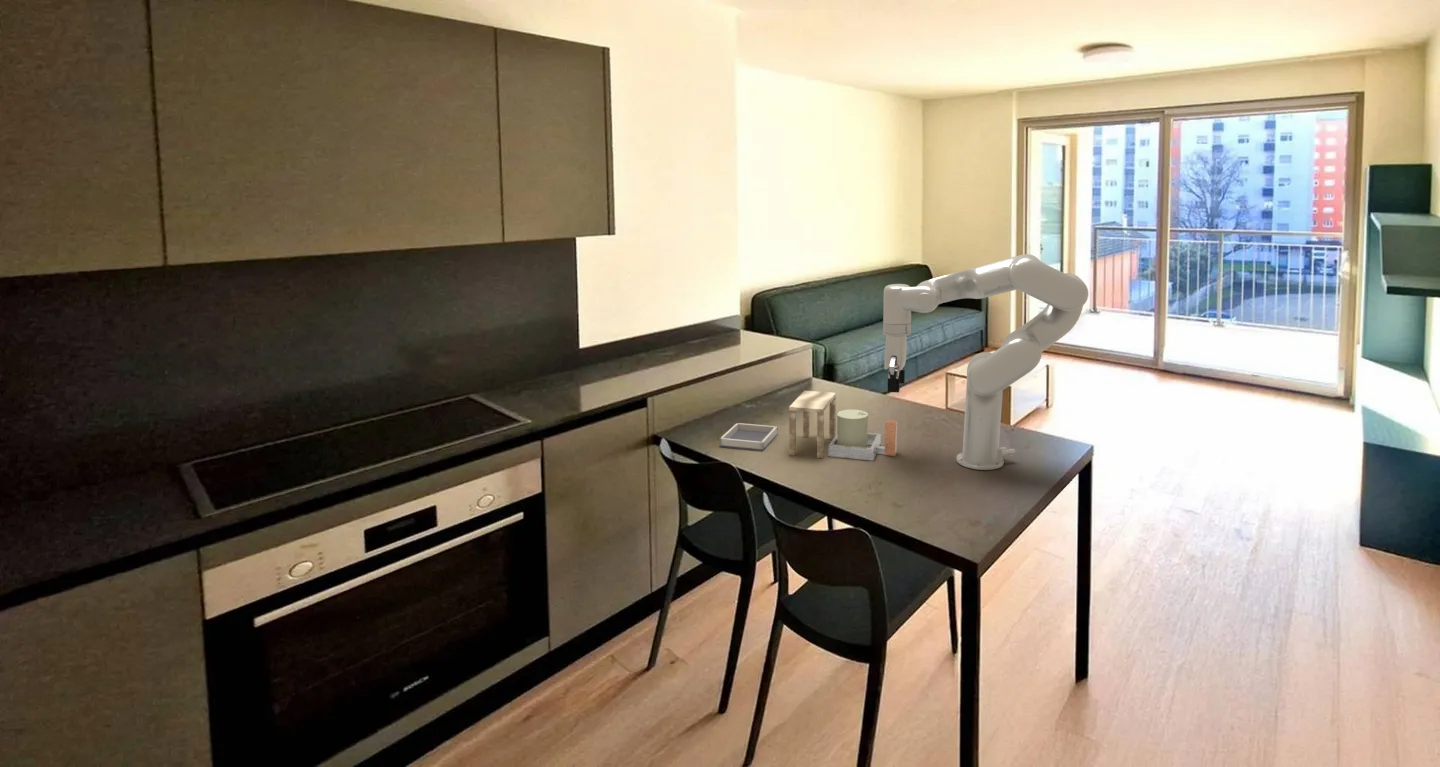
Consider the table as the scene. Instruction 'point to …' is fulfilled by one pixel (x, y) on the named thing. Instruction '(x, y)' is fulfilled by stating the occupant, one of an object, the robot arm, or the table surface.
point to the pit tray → (749, 436)
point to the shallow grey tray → (872, 440)
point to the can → (852, 428)
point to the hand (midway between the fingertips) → (896, 387)
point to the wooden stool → (808, 403)
